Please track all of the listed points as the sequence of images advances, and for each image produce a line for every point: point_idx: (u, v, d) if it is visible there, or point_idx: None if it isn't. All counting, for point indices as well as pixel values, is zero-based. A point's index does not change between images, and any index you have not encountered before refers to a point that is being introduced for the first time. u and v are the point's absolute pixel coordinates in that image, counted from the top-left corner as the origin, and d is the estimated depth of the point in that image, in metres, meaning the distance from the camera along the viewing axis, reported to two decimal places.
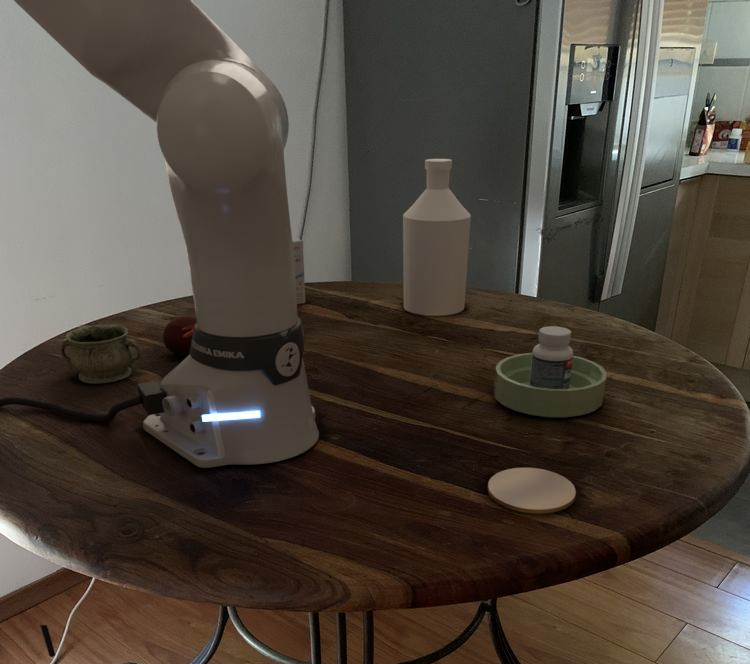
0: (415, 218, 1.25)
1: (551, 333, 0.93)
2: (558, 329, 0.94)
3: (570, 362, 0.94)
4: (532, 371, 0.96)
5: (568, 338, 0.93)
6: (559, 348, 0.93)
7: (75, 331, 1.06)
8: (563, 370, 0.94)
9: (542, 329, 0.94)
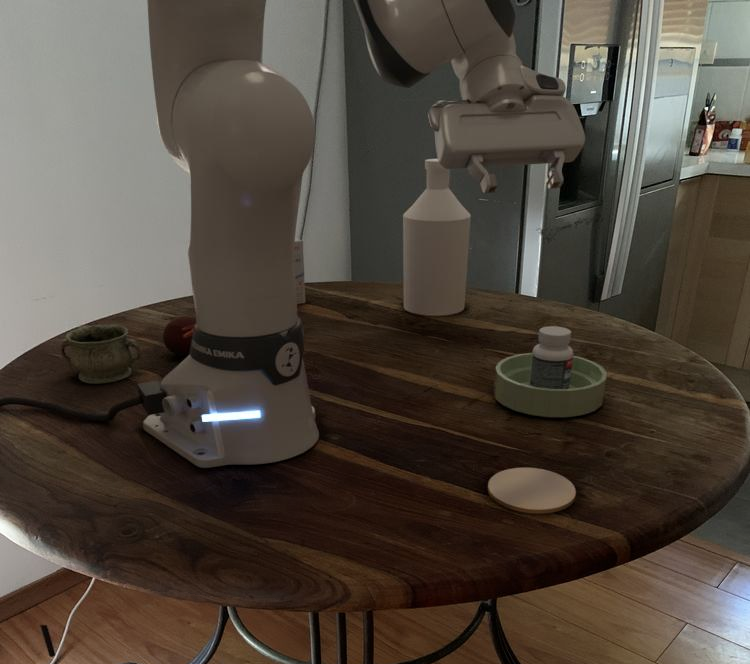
0: (415, 218, 1.25)
1: (551, 333, 0.93)
2: (558, 329, 0.94)
3: (570, 362, 0.94)
4: (532, 371, 0.96)
5: (568, 338, 0.93)
6: (559, 348, 0.93)
7: (75, 331, 1.06)
8: (563, 370, 0.94)
9: (542, 329, 0.94)
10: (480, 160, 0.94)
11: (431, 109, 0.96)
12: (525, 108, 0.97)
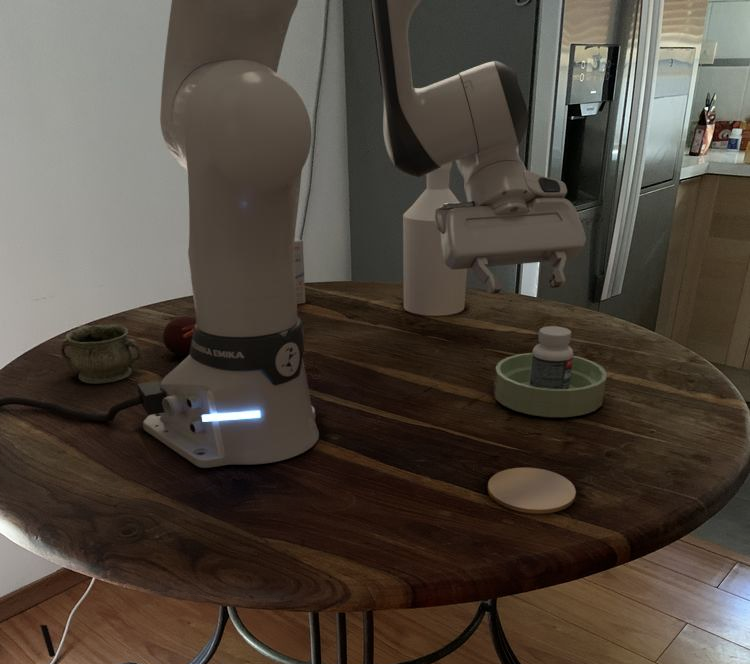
0: (415, 218, 1.25)
1: (551, 333, 0.93)
2: (558, 329, 0.94)
3: (570, 362, 0.94)
4: (532, 371, 0.96)
5: (568, 338, 0.93)
6: (559, 348, 0.93)
7: (75, 331, 1.06)
8: (563, 370, 0.94)
9: (542, 329, 0.94)
10: (485, 263, 0.97)
11: (437, 212, 0.99)
12: (528, 210, 1.00)
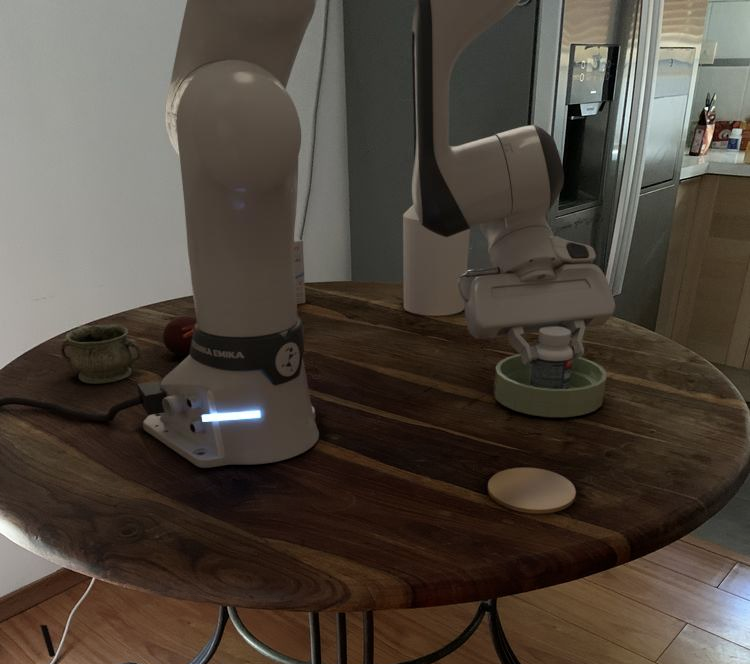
0: (415, 218, 1.25)
1: (551, 333, 0.93)
2: (558, 329, 0.94)
3: (570, 362, 0.94)
4: (532, 371, 0.96)
5: (568, 338, 0.93)
6: (559, 348, 0.93)
7: (75, 331, 1.06)
8: (563, 370, 0.94)
9: (542, 329, 0.94)
10: (520, 332, 0.94)
11: (461, 279, 0.95)
12: (555, 277, 0.96)
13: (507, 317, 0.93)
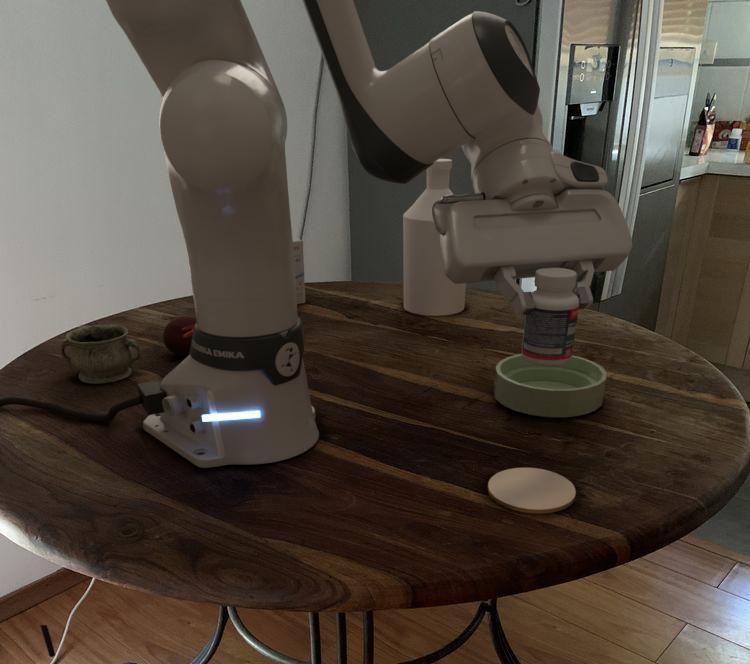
0: (415, 218, 1.25)
1: (551, 274, 0.72)
2: (560, 271, 0.73)
3: (575, 313, 0.73)
4: (527, 325, 0.75)
5: (573, 281, 0.72)
6: (561, 294, 0.72)
7: (75, 331, 1.06)
8: (567, 322, 0.73)
9: (539, 270, 0.73)
10: (512, 274, 0.73)
11: (436, 206, 0.74)
12: (556, 205, 0.75)
13: (494, 254, 0.72)
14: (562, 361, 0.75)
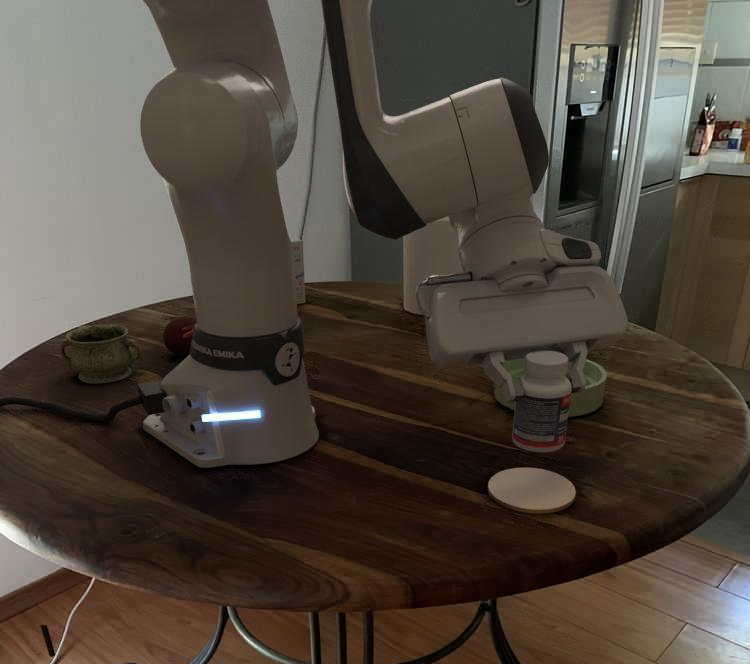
0: None
1: (542, 360, 0.68)
2: (551, 355, 0.70)
3: (567, 399, 0.70)
4: (517, 410, 0.71)
5: (564, 367, 0.68)
6: (552, 381, 0.69)
7: (75, 331, 1.06)
8: (558, 410, 0.69)
9: (529, 355, 0.70)
10: (500, 360, 0.69)
11: (420, 289, 0.71)
12: (547, 284, 0.72)
13: (481, 340, 0.69)
14: (554, 448, 0.71)
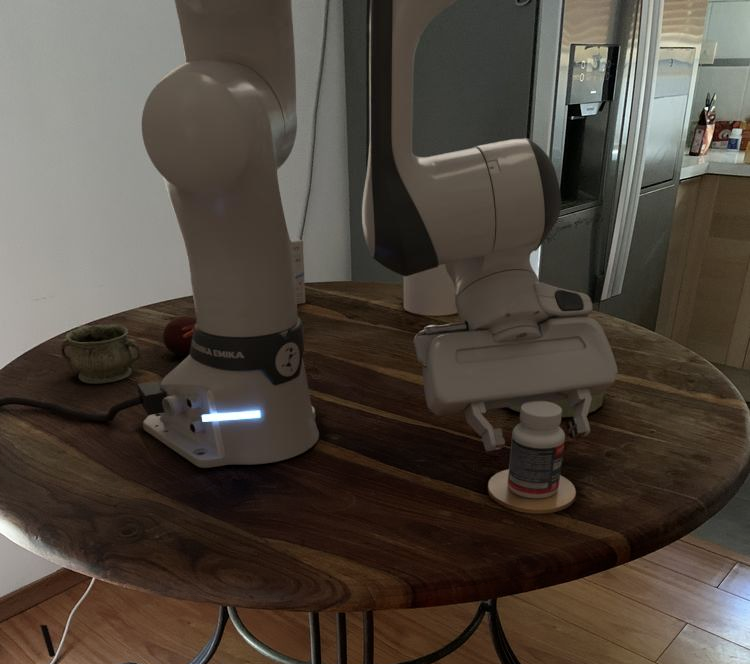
0: None
1: (536, 412, 0.71)
2: (545, 406, 0.72)
3: (561, 449, 0.72)
4: (512, 458, 0.74)
5: (558, 419, 0.71)
6: (546, 432, 0.71)
7: (75, 331, 1.06)
8: (552, 459, 0.72)
9: (524, 406, 0.72)
10: (481, 411, 0.71)
11: (418, 338, 0.73)
12: (540, 335, 0.74)
13: (477, 389, 0.71)
14: (548, 494, 0.74)
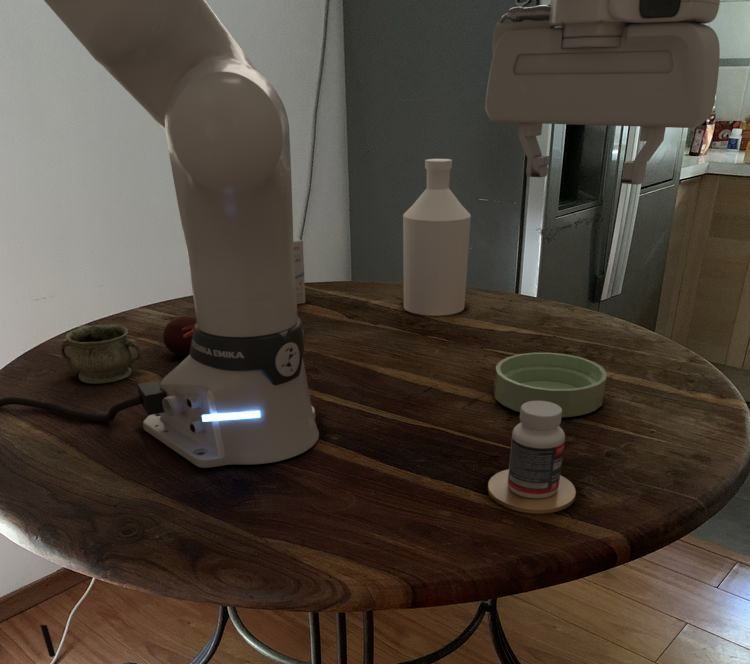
0: (415, 218, 1.25)
1: (536, 412, 0.71)
2: (545, 406, 0.72)
3: (561, 449, 0.72)
4: (512, 458, 0.74)
5: (558, 419, 0.71)
6: (546, 432, 0.71)
7: (75, 331, 1.06)
8: (552, 459, 0.72)
9: (524, 406, 0.72)
10: (527, 134, 0.69)
11: (496, 26, 0.67)
12: (617, 45, 0.60)
13: (522, 111, 0.67)
14: (548, 494, 0.74)
